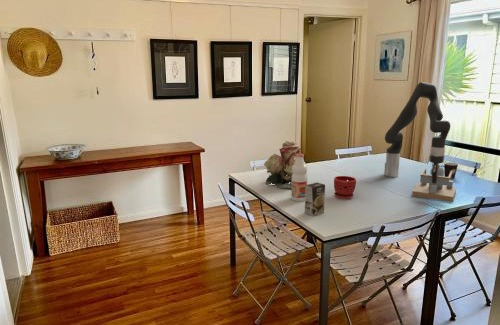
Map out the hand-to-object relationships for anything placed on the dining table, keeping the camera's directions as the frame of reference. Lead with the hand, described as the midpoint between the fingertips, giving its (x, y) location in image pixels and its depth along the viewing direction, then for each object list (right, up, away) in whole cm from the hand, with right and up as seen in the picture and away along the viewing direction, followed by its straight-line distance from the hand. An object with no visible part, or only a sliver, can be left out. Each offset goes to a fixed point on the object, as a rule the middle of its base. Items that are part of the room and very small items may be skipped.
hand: (434, 182), depth 219 cm
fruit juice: (-81, -11, +3) cm, 82 cm away
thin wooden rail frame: (+4, +1, +7) cm, 8 cm away
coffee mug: (+31, +1, +43) cm, 53 cm away
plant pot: (-53, -9, +6) cm, 54 cm away
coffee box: (-75, -16, -19) cm, 79 cm away
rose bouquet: (-85, -3, +34) cm, 91 cm away
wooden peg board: (+4, -8, +8) cm, 12 cm away
